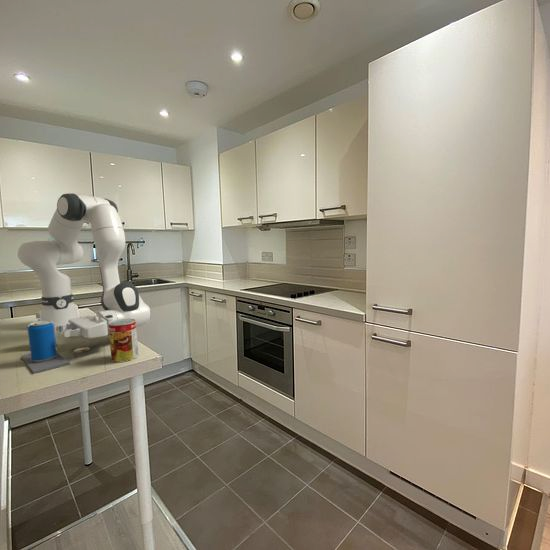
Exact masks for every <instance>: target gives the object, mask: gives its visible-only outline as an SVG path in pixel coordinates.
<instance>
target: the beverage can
mask: <svg viewBox="0 0 550 550" xmlns="http://www.w3.org/2000/svg"><path fill="white" fill-rule="evenodd" d="M28 325H30V326H29V327H28V332H27V334H28V333H29V340H28V343H29V342H30V347H29V349H30V354H31V359H32V360H33V361H35V362H44V361H48V360H51V359H53V358H54V357H55V356H56V355H57V353H56V351H57V345H56V344H55V335H54V326H53V324H52V323H51V321H49V320H46V321H38V320H37V321H33V322H30V323H29V324H28Z"/></svg>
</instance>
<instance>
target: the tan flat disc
mask: <svg viewBox="0 0 550 550" xmlns="http://www.w3.org/2000/svg"><path fill="white" fill-rule="evenodd" d="M89 350H91V347H89V346H88V347H87V346H86V347H85V346H84V347H79V348H75V349H74V350H72V352H73V353H74V354H75V353H84V352H88V351H89Z"/></svg>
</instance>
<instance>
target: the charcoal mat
mask: <svg viewBox="0 0 550 550" xmlns="http://www.w3.org/2000/svg"><path fill="white" fill-rule="evenodd" d="M56 353H57V355H56V356H55V357H54V358H53V359H51V360H48V361H44V362H35V361H33V360H32V359H31V353H28V354H24V355H21V357H22V358H23V359H22V358H21V359H22V360H23V362H24V361H25V362H24V363H25V364H26V365H28V366H29V367H28V366H27V367H28V368H29V370H31V373H32V374H39V373H42V372H46V371H50V370H52V369H57V368H60V367H65V366H69V365H71V362H70V361H69V360H68V359H66V357H64V355H62V354H61V353H59V351H58V350H56Z"/></svg>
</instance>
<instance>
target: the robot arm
mask: <svg viewBox="0 0 550 550" xmlns="http://www.w3.org/2000/svg"><path fill="white" fill-rule="evenodd" d="M84 224H90V228H91V234H92V238H93V241H94V246H95V250H96V254H97V259H98V265H99V271H100V277H101V284H102V294H101V298H100V304H101V307H102V309H103V310H100V311H98V312H96V315H94V316H92V315H91V316H90V315H88V316H81V317H80V311H79V306H78V305H77V304H76V303H75V302H74V294H73V293H72V285H71V278H70V276H68V275H67V274H66V273H64V272H63V273H62V272H60V270H59V269H58V268H57V267H58V266H60V265H61V266H63V265H70V264H74V263H78V262H80V261H81V260H82V259H83V256H84V248H83V246H82V244H80V243H79V242H78V237H79V235H80V233H81V230H82V229H83V226H84ZM47 230H48V233H49V235H50V236H51V237H52V238H53V240H34V241H29V242H25V243H22V244H20V246H19V248H18V250H17V258H18V259H19V261H20V262H21V263H22V264H23V265H24V266H26V267H28V268H30V269H31V270H32V271H33V272H34V274H35V275H36V276H37V278H38V281H39V284H40V290H41V298H40V302H41V308H40V310H39V311H38V312H37V313H36V314H35V317H36V320H37V322H38V321H46V320H49V321H53V322H54V323H55V328H56V333H60V332H62V335H63V337H64V338H69V337H80V336H81V337H83V338H84V339H97V338H102V337H103V338H104V337H109V338H110V336H109V325H108V324H109V322H111V321H115V320H120V319H135V320H136V329H139V328H141V327H144V326H146V325H147V324H148V323H149V322H150V319H151V316H152V313H151V312H152V311H151V309H150V306H149V305H148V304H146V303H145V301H144V299H143V298H142V297H141V296H140V293H139V290H138V288H137V286H135V284H134V283H131V282H128V281H125V282H123V281H122V282H121V280H120V274H119V269H118V268H119V266H118V265H119V261H120V258H121V255H122V254H123V253H124V250H125V248H126V234H125V229H124V226H123V223H122V220H121V217H120V214H119V210H118V207H117V204H116V203H115V202H114V201H113V200H110V199H108V198H103V197H99V196H95V195H85V194H76V193H70V192H69V193H63V194H62V195H61V196H60V197H58V199H57V203H56V209H55V211H54V213H53V215H52V218H51V220H50V222H49V223H48V226H47Z"/></svg>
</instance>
